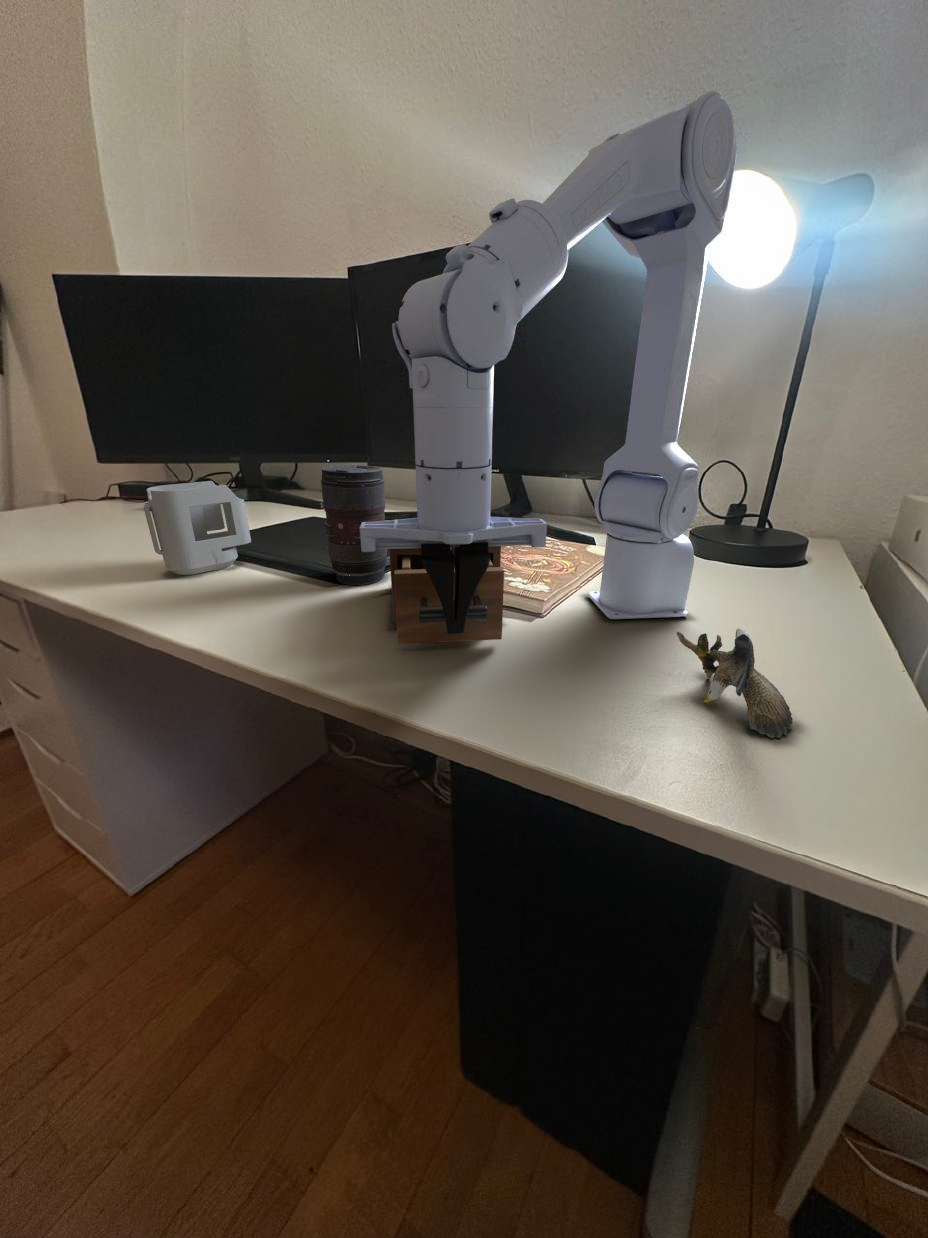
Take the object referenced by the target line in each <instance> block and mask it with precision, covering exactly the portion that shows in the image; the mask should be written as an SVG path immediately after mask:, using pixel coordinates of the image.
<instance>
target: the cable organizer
mask: <svg viewBox="0 0 928 1238" xmlns="http://www.w3.org/2000/svg"><path fill="white" fill-rule="evenodd" d="M145 490H146V495H147V500H148V502H146V503H145V504H143V512H144V515H145V518H146V523H147V528H148V531H149V534H150V538H151V542H152V546H153V550H154V552H155V553H156V554H158V555H160V556H162V558H163V559H162V560H163V563H164V566H165V569H167V570H168V571H170V572H172V573H173V574H175V575H182V576H189V575H195V574H201V573H206V572H210V571H211V572H213V571H221V570H224V569H228V568H230V567H231V566H232V565H233V564H234V563H235V561H236V560H237V559H238V557H239V555H238V549H237V547H238V546H239V547H240V546H244V545H249V544H250V543H252V538H251V532H250V526H249V525H250V524H249V521H248V515H247V508H246V504H245V499H244V498H240V497H238V496H236V494H235V493H234V492H233V491H232V489H230V488H229V486H228V485H227V484H221V485H216V484H215V482H213V481H212V480H207V481H205V480H204V481H194V482H185V483H173V484H164V485H163V484H162V485H156V486H150V487H147V488H146V489H145ZM221 504H222V505H221ZM222 509H223V510H222ZM224 518H225V519H224ZM225 524H226V525H225ZM225 528H227V529H226V530H224V529H225ZM221 530H224V531H221ZM212 531H213V532H212ZM215 531H217V532H215ZM208 532H210V533H208Z"/></svg>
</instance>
